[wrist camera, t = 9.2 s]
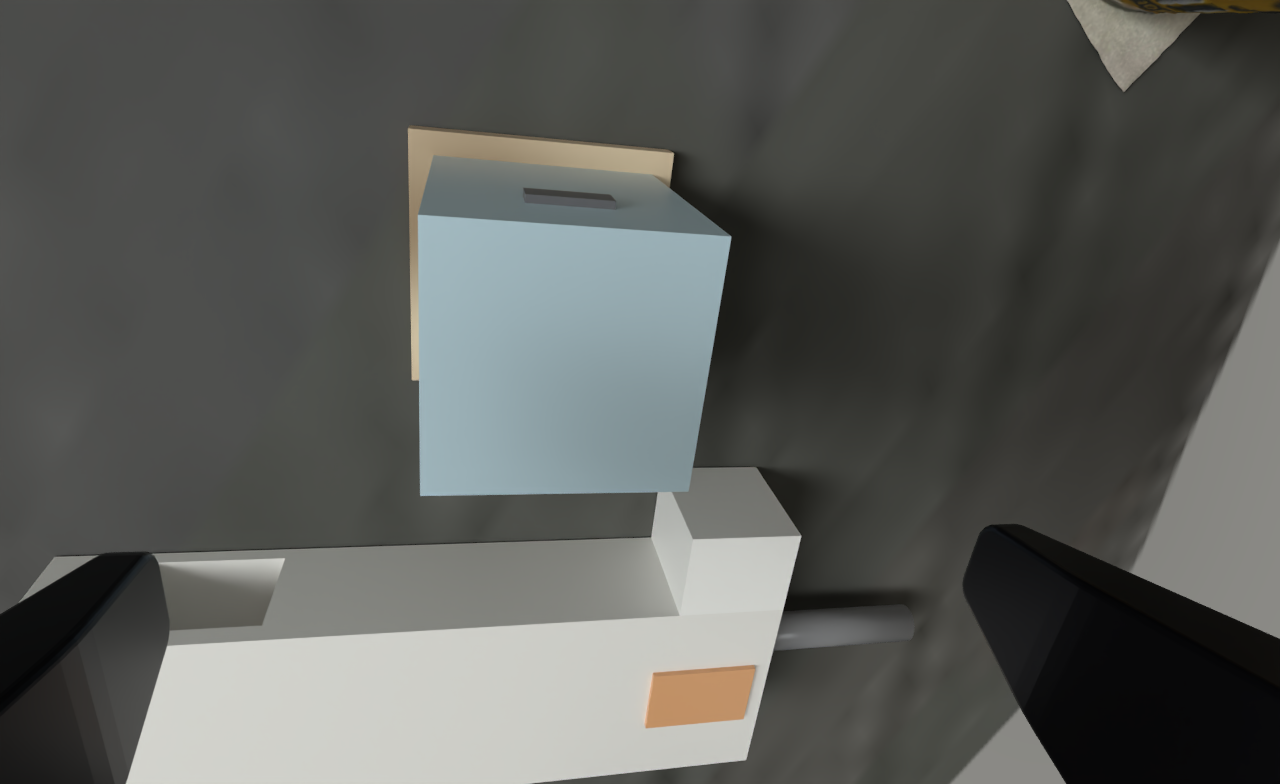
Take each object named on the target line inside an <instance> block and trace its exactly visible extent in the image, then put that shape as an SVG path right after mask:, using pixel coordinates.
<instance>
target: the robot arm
mask: <svg viewBox="0 0 1280 784" xmlns="http://www.w3.org/2000/svg"><path fill="white" fill-rule="evenodd" d="M962 585H963V593H964V597H965V599H966V602H967V604H968V606H969V608H970V610H971V612H972V614H973V616H974V618H975V620H976V622H977V624H978V626H979V628H980V630H981V632H982V633H983V635H984V637H985V639H986V641H987V643H988V645H989V647H990V649H991V651H992V653H993V655H994V657H995V659H996V661H997V663H998V665H999V667H1000V669H1001V671H1002V673H1003V675H1004V677H1005V679H1006V681H1007V683H1008V685H1009V687H1010V689H1011V691H1012V693H1013V695H1014V697H1015V699H1016V701H1017V703H1018V705H1019V706H1020V708H1021V710H1022V712H1023V714H1024V715H1025V717H1026V719H1027V720H1028V722H1029V724H1030V725H1031V727H1032V729H1033V731H1034V732H1035V734H1036V736H1037V737H1038V739H1039V740H1040V742H1041V744H1042V745H1043V747H1044V749H1045V750H1046V752H1047V753H1048V755H1049V757H1050V758H1051V760H1052V761H1053V763H1054V765H1055V766H1056V768H1057V770H1058V771H1059V773H1060V774H1061V776H1062V778H1063V779H1064V781H1065V782H1066V784H1280V639H1279V638H1277V637H1274V636H1272V635H1270V634H1267V633H1265V632H1263V631H1261V630H1258V629H1256V628H1254V627H1252V626H1249V625H1247V624H1245V623H1242V622H1240V621H1238V620H1236V619H1233V618H1231V617H1229V616H1227V615H1224V614H1222V613H1220V612H1217V611H1215V610H1213V609H1211V608H1209V607H1206V606H1204V605H1202V604H1199V603H1197V602H1195V601H1192V600H1190V599H1188V598H1186V597H1183V596H1181V595H1179V594H1177V593H1175V592H1172V591H1170V590H1168V589H1165V588H1163V587H1161V586H1159V585H1156V584H1154V583H1152V582H1150V581H1147V580H1145V579H1143V578H1140V577H1138V576H1136V575H1134V574H1131V573H1129V572H1127V571H1125V570H1122V569H1120V568H1118V567H1116V566H1113V565H1111V564H1109V563H1107V562H1104V561H1102V560H1100V559H1097V558H1095V557H1093V556H1091V555H1088V554H1086V553H1084V552H1082V551H1079V550H1077V549H1075V548H1072V547H1070V546H1068V545H1066V544H1063V543H1061V542H1059V541H1057V540H1054V539H1052V538H1050V537H1048V536H1045V535H1043V534H1041V533H1038V532H1036V531H1034V530H1032V529H1029V528H1027V527H1025V526H1022V525H1018V524H999V525H989V526H987V527H985V528H984V529H983V530H982V531H981V532H980V534H979V536H978V539H977V542H976V544H975V547H974V550H973V552H972V555H971V558H970V560H969V563H968V566H967V568H966V571H965V574H964V577H963V584H962ZM169 632H170V620H169V614H168V609H167V603H166V598H165V593H164V588H163V583H162V578H161V572H160V567H159V564H158V561H157V559H156V558H155V556H154V555H152V554H151V553H149V552H114V553H104V554H100V555H99V556H97V557H95V558H93V559H91V560H90V561H88V562H86V563H85V564H83V565H81V566H80V567H78V568H76V569H75V570H73V571H71V572H70V573H68V574H66V575H65V576H63V577H61V578H60V579H58V580H56V581H55V582H53V583H51V584H50V585H48V586H46V587H45V588H43V589H41V590H40V591H38V592H36V593H35V594H33V595H31V596H30V597H28V598H26V599H25V600H23V601H21V602H20V603H18V604H16V605H15V606H13V607H11V608H10V609H8V610H6V611H5V612H3V613H1V614H0V784H126V782H127V779H128V776H129V773H130V769H131V766H132V763H133V759H134V756H135V752H136V749H137V746H138V742H139V739H140V736H141V732H142V729H143V726H144V722H145V719H146V716H147V712H148V709H149V705H150V702H151V699H152V695H153V692H154V689H155V685H156V682H157V679H158V675H159V672H160V669H161V665H162V662H163V658H164V655H165V652H166V648H167V645H168V640H169Z"/></svg>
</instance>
